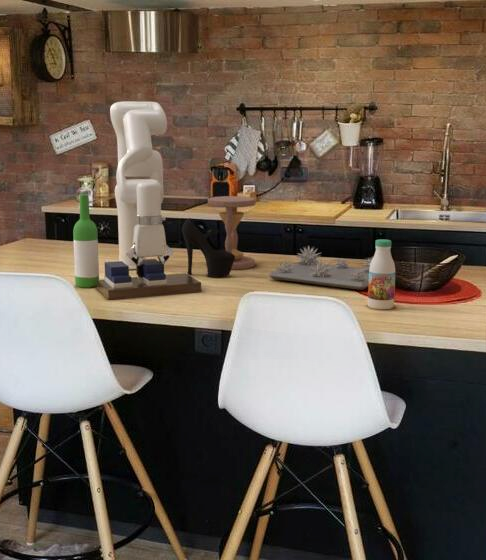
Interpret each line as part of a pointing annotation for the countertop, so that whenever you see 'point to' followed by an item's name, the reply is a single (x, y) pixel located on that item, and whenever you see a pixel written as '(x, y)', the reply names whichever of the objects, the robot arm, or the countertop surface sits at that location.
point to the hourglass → (233, 226)
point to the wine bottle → (85, 247)
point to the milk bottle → (381, 277)
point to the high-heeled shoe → (207, 250)
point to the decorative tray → (323, 272)
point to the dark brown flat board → (151, 287)
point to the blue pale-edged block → (153, 273)
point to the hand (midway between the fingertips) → (150, 275)
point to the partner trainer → (117, 275)
